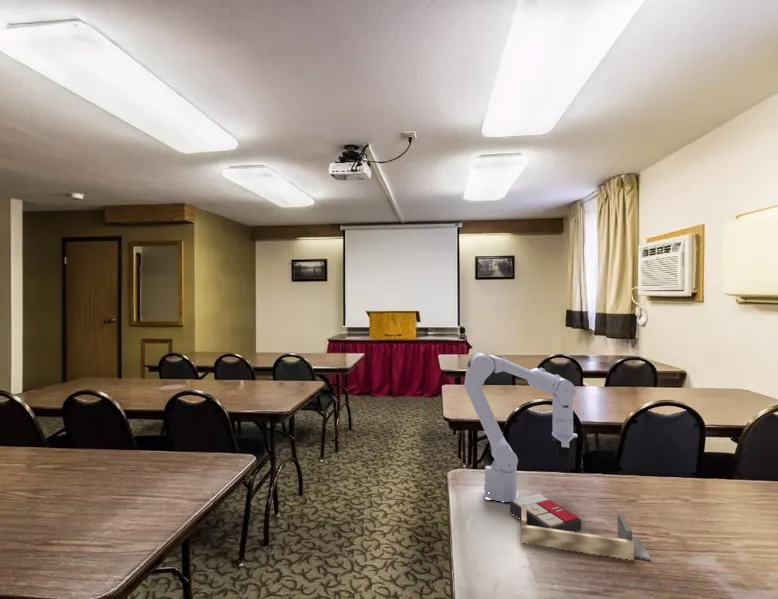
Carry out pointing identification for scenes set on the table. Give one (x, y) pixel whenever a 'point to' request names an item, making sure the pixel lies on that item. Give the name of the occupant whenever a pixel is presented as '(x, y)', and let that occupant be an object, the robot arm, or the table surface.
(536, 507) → the calculator
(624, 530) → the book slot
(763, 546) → the table surface
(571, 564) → the table surface
